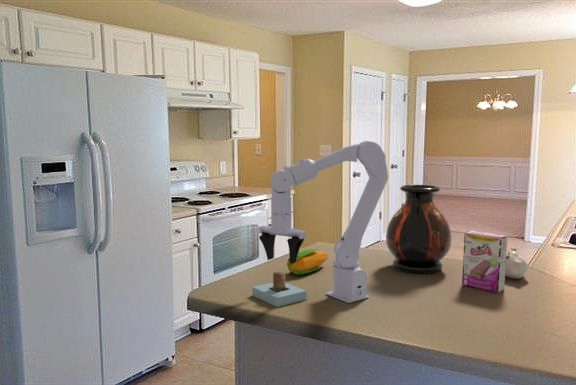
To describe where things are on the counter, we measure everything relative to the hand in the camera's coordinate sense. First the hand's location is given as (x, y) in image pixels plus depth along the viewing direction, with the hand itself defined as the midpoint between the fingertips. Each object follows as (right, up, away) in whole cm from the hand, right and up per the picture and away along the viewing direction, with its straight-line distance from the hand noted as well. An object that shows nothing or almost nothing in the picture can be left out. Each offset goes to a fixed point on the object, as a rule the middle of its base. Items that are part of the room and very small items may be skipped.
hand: (281, 260), depth 143 cm
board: (-1, -10, -1) cm, 10 cm away
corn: (+9, -7, +26) cm, 28 cm away
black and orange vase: (+46, -7, +30) cm, 55 cm away
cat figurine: (+74, -8, +19) cm, 77 cm away
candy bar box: (+60, -9, +8) cm, 61 cm away
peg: (-1, -10, -1) cm, 10 cm away
